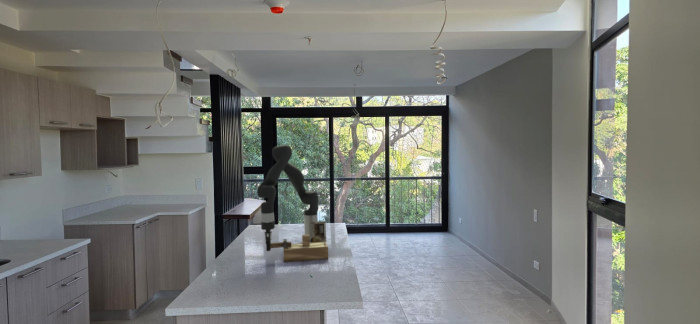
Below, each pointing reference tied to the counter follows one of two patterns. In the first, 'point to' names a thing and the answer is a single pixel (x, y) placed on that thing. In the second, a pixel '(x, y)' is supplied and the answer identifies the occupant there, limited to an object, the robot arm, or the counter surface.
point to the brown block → (279, 245)
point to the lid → (306, 243)
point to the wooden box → (304, 253)
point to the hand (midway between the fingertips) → (268, 248)
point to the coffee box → (318, 232)
